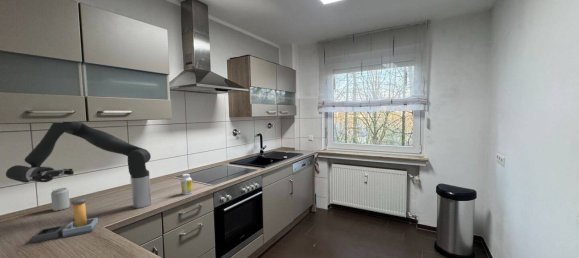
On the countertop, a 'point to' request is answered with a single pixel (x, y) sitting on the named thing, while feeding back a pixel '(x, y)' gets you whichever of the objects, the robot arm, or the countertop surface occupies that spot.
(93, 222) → the parts tray
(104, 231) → the countertop surface
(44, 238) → the pin collar
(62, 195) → the can
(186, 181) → the supplement bottle
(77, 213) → the stop pin
